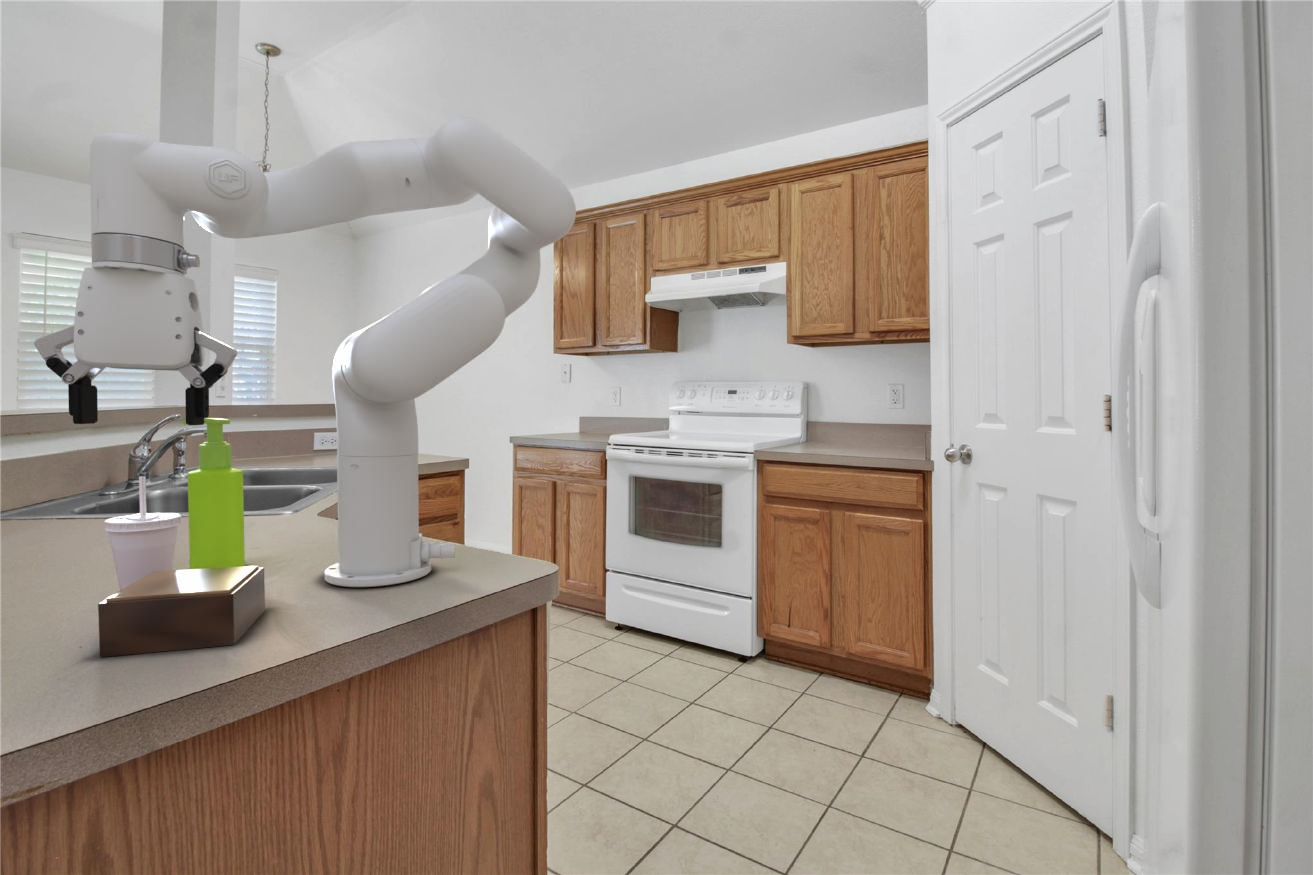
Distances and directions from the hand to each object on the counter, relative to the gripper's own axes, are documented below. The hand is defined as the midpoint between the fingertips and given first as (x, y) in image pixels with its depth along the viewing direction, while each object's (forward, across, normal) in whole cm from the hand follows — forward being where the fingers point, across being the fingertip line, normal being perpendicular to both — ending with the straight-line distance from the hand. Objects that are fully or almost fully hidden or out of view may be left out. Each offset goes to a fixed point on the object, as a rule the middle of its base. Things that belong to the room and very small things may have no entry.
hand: (141, 424), depth 67 cm
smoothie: (+20, 0, 0) cm, 20 cm away
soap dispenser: (+20, -2, -15) cm, 25 cm away
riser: (+20, -8, +10) cm, 23 cm away
